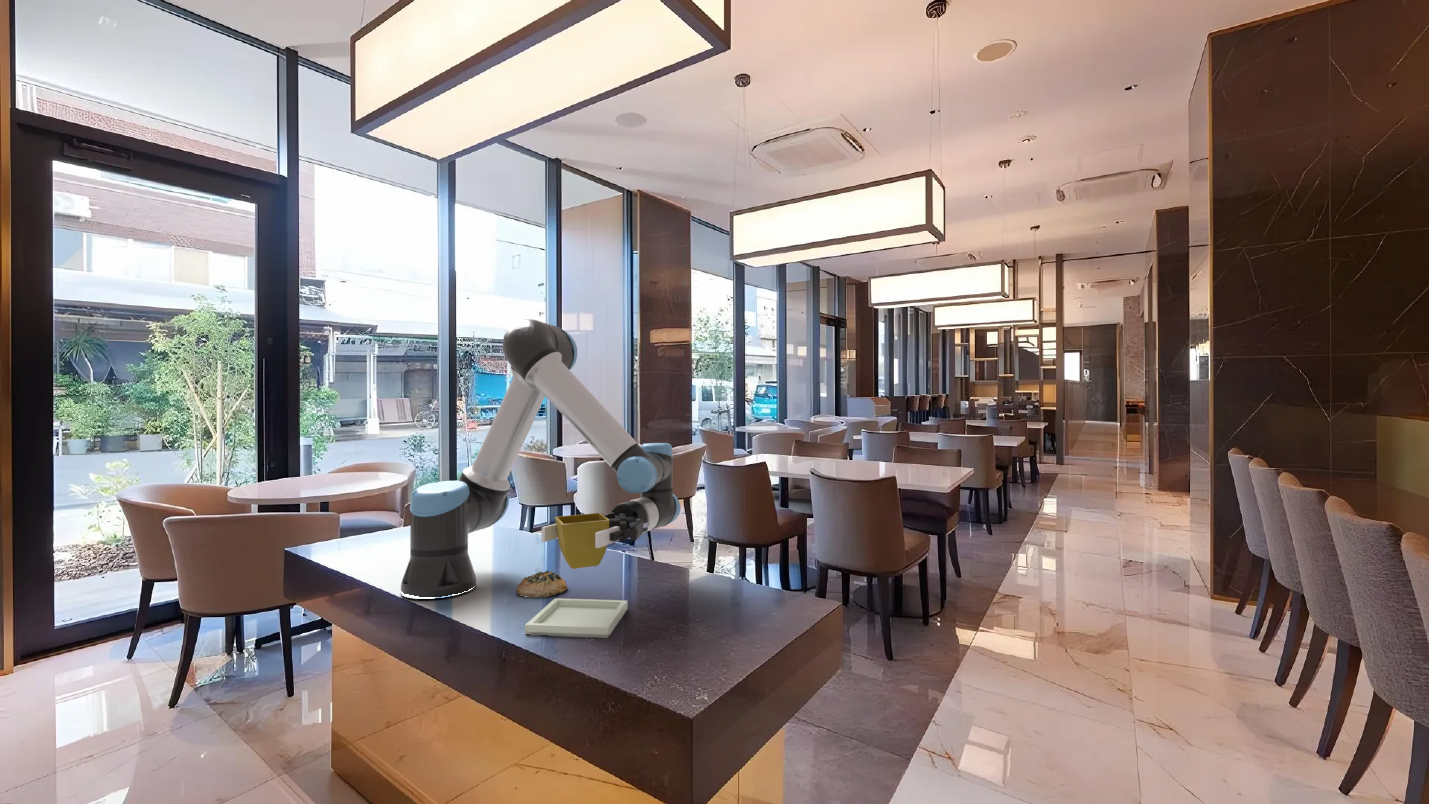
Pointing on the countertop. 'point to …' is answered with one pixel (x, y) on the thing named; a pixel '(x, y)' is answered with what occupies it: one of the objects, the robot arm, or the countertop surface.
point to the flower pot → (581, 538)
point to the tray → (577, 618)
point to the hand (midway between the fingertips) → (569, 537)
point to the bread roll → (541, 585)
